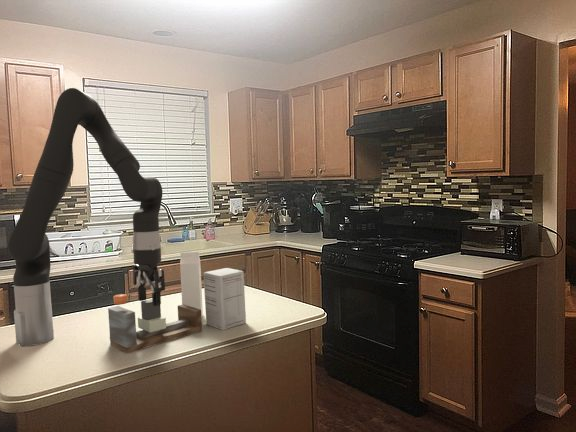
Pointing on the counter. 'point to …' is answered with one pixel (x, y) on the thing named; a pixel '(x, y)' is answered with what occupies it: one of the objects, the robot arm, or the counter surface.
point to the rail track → (172, 333)
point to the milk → (191, 280)
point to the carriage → (151, 317)
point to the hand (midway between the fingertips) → (149, 302)
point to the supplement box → (224, 298)
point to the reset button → (120, 299)
